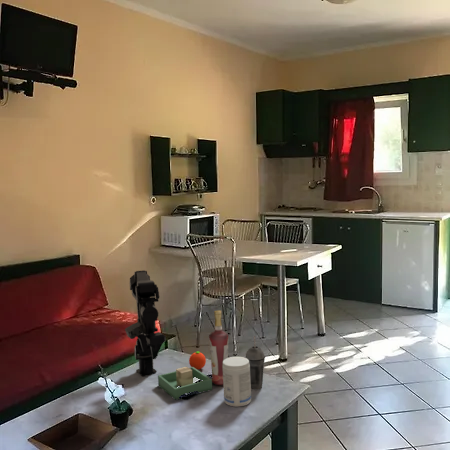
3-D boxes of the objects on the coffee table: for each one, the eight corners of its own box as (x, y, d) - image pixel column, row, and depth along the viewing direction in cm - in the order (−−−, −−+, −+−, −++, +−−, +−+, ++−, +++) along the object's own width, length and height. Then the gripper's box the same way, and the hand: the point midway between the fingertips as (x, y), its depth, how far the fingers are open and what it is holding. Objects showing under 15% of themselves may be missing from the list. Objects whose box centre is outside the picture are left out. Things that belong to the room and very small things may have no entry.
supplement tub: (250, 395, 185) (249, 355, 184) (252, 407, 176) (251, 365, 174) (223, 396, 185) (221, 356, 183) (224, 408, 175) (222, 366, 174)
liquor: (231, 386, 193) (228, 313, 190) (211, 387, 192) (209, 314, 189) (228, 378, 200) (226, 308, 198) (209, 380, 199) (207, 309, 197)
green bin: (158, 385, 196) (158, 375, 195) (193, 376, 203) (193, 366, 203) (175, 400, 183) (175, 389, 182) (212, 389, 191) (211, 379, 190)
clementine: (191, 364, 216) (191, 348, 215) (208, 365, 215) (207, 348, 214) (187, 372, 208) (187, 354, 208) (204, 372, 207) (203, 355, 207)
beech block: (176, 384, 194) (176, 369, 193) (187, 381, 196) (186, 366, 195) (182, 388, 190) (181, 373, 189) (192, 385, 192) (192, 370, 192)
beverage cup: (266, 383, 195) (264, 332, 193) (265, 391, 188) (264, 338, 185) (246, 383, 195) (245, 332, 193) (245, 391, 188) (244, 338, 186)
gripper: (118, 313, 197) (120, 352, 198) (136, 324, 181) (138, 367, 182) (145, 308, 202) (147, 347, 204) (165, 319, 186) (167, 361, 188)
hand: (149, 355), depth 194 cm, fingers open, 9 cm apart
